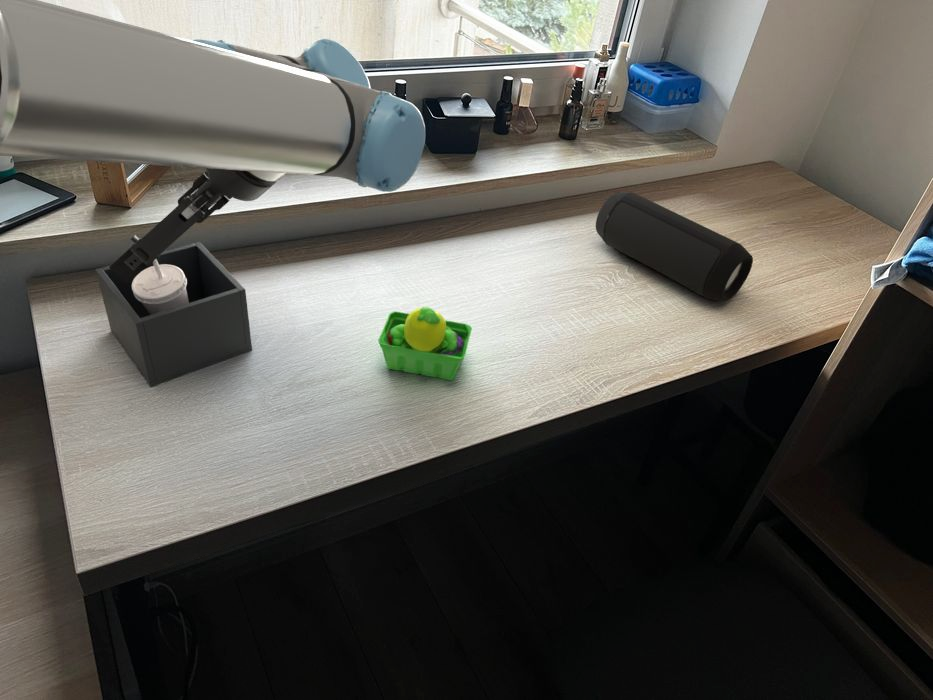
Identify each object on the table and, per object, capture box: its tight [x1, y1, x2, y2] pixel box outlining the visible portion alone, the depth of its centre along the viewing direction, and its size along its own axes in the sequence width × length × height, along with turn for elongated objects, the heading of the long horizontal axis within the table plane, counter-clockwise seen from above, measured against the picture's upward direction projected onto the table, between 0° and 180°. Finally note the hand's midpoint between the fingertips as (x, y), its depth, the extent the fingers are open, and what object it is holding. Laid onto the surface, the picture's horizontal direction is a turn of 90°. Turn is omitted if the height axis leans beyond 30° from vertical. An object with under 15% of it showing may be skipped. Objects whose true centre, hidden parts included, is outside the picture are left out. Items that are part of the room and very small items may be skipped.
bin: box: [95, 241, 253, 388], centre depth 94 cm, size 14×14×10 cm
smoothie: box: [132, 259, 189, 315], centre depth 91 cm, size 6×6×14 cm
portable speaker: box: [595, 191, 754, 302], centre depth 121 cm, size 26×10×10 cm, turn 44°
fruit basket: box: [378, 306, 473, 381], centre depth 94 cm, size 11×9×11 cm
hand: (142, 254), depth 89 cm, fingers open, 9 cm apart
